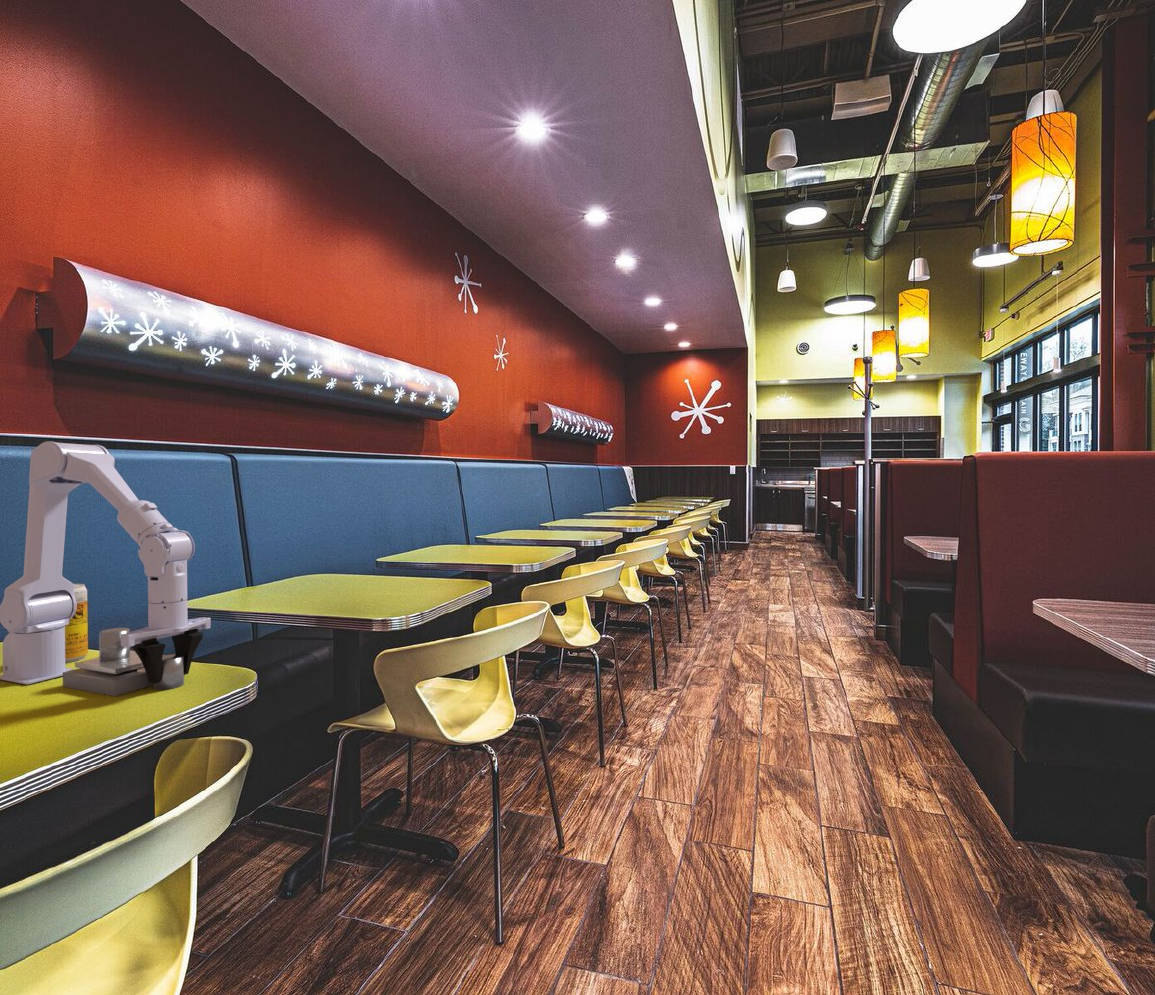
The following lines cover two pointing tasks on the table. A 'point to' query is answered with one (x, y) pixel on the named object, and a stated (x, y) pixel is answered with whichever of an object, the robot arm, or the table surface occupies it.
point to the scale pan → (112, 664)
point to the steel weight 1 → (112, 645)
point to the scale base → (106, 681)
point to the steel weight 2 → (171, 672)
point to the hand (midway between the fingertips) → (168, 677)
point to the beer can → (77, 628)
